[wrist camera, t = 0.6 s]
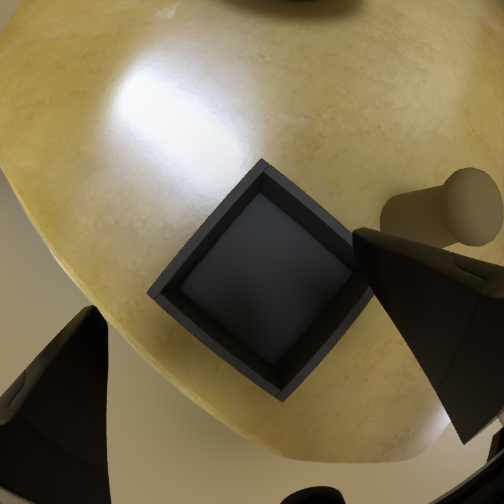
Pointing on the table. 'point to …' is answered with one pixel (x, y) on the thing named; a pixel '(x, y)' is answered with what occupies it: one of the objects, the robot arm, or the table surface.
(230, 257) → the dark grey square box
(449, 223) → the cork
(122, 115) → the table surface
